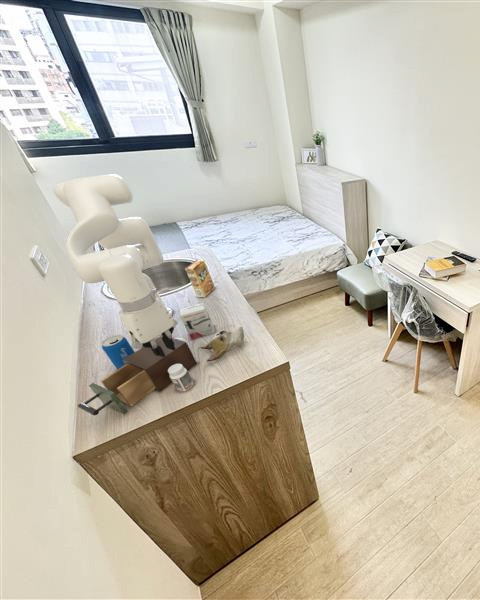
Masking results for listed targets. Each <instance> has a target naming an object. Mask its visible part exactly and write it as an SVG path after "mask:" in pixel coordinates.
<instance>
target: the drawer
mask: <svg viewBox="0 0 480 600" xmlns="http://www.w3.org/2000/svg"><path fill="white" fill-rule="evenodd" d="M100 383H101V384H102V385H103V386H101V385H99V384H97V383H95V382H92V383H90V384H89V385H88V387H89V388H90V389H91V390H92V392H93V393H94V394H95V395H93V396H92V397H90V398H88V399H87V400H86V401H84V402H80V403H79V404H77V408H79V409H80V410H83V411H84V412H86V413H88V414H90V415H92V416H97V415H99V414H100V411H102V410H103V409H105V408H106V407H108V408H110V409H112V410H115V411H116V412H118V413H121V414H122V415H126V414H127V413H129V410H128V408H127V407H126V406H125V405H127V406H129V407H133V406H134V405H135V404H137V403H138V402H139V401H140V400H142V399H143V398H145V397H146V396H147V395H149V394H150V393H152V392H153V391H155V390H154V389H155V388H156V387H155V385H154V383H153V382H152V380H151V379H150V377H149V376H148V374H147V373H146V371H145V370H143V369H140V368H138V367H135V366H133V365H130V364H128V363H127V364H125V365H124V366H122V367H121V368H119V369H118V370H117V369H116V370H114V371H113V372H111V373H110V374H108V375H107V376H105V377H103V378H102V379H101V380H100ZM95 399H99V401H100V402H101V403H102V405H101V406H100V407H98V408H97V409H96V408H94V407H92V406H90V405H89V403H91V402H92V401H95Z"/></svg>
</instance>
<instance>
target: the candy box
mask: <svg viewBox="0 0 480 600" xmlns="http://www.w3.org/2000/svg"><path fill="white" fill-rule="evenodd" d="M184 270H185V272H186V274H187V277H188V279H189V282H190V283H191V286H192V288H193V290H194V293H195V295H196V297H197V298H206V297H207V296H208V295H210V293H211V292H212V291H214V290H215V289H216V286H215V284H214V281H213V279H212V276H211V274H210V271H209V269H208V266H207V264H206V261H205V259H195V260H194V261H193V262H192V263H191V264H189V265H187V266H186V267H185V268H184Z"/></svg>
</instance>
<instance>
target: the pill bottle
mask: <svg viewBox="0 0 480 600" xmlns="http://www.w3.org/2000/svg"><path fill="white" fill-rule="evenodd" d="M168 372H169V374H170V378H171V380H172V382H173V383H172V384H173V385H174V387H175V389H176V390H177V391H178V392H186V391H189V390H190V389H191V388H192V387H193V386H194V381H193V379H192V377H191V375H190V373H189V370H188V371H187V370H186V368H184V367H183V365H182V364H175V365H172V366H171V367H170V368H169V369H168Z"/></svg>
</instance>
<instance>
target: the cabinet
mask: <svg viewBox="0 0 480 600" xmlns="http://www.w3.org/2000/svg"><path fill="white" fill-rule="evenodd" d="M162 337H163V336H162V335H159V337H157V338H154V340H155V342H156V344H157V345H158V346H160V347H161V348H162V350H163V352H164V354H165V357H161V356H156V355H155V354H154V353H153V351H152V350H151V348H146V347H143V348H139V349H137V350H136V351H134V352H135V353H133V354H131V355H130V356H128V357H127V358H125V359H123V361H124V363H125V364H127V363H128V364H130V365H133V366H135V367H138V368H140V369H143V370H145V371H146V373H147V374H148V376H149V377H150V379H151V380H152V382H153V383H154V385H155V387H156V388H155V389H154V390H153V391H157V392H159V393H161V392H163V390H164V389H166V388H168V387H169V386H171V384H174V383H173V382H172V380H171V378H170V374H169V372H168V369H169V368H170V367H171V366H172V365H175V364H182V365H183V367H184V368H186V370H187V371H188V372H189V371H190V370H191V369H192V368H194V367H195V366H197V364H198V362H197V361H196V358H195V357H194V355H193V354H194V353H192V350H191V348H190V347H189V345H188V344H189V343H188V342H187V341H184V340H182V339H179V338H176V337H174V336H173V337H172V340H173V342H174V344H175V345H174V346H175V348H176V349H175V350H171V349H168V348H167V347H166V346H165V344H164V342H163V340H162Z"/></svg>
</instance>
